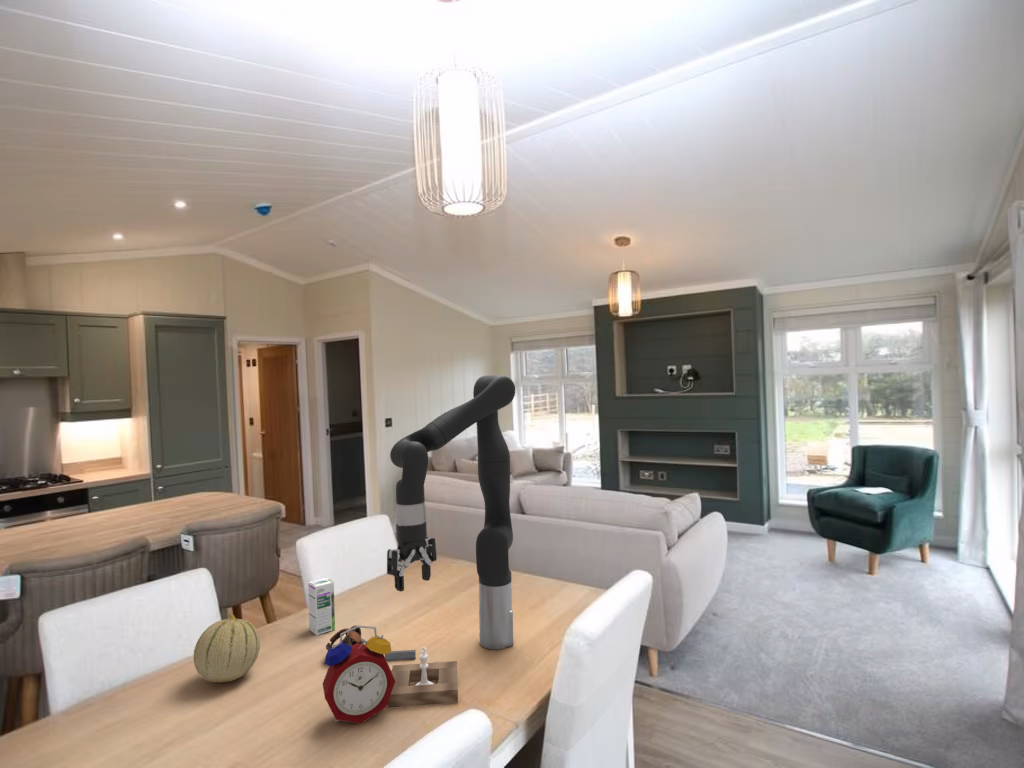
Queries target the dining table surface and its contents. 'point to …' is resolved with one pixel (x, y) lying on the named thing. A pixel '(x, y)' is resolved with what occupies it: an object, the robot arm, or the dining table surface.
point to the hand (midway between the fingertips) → (413, 585)
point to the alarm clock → (358, 678)
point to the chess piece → (424, 668)
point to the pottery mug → (347, 637)
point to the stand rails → (401, 655)
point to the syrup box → (321, 606)
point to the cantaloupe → (226, 650)
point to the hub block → (424, 693)
